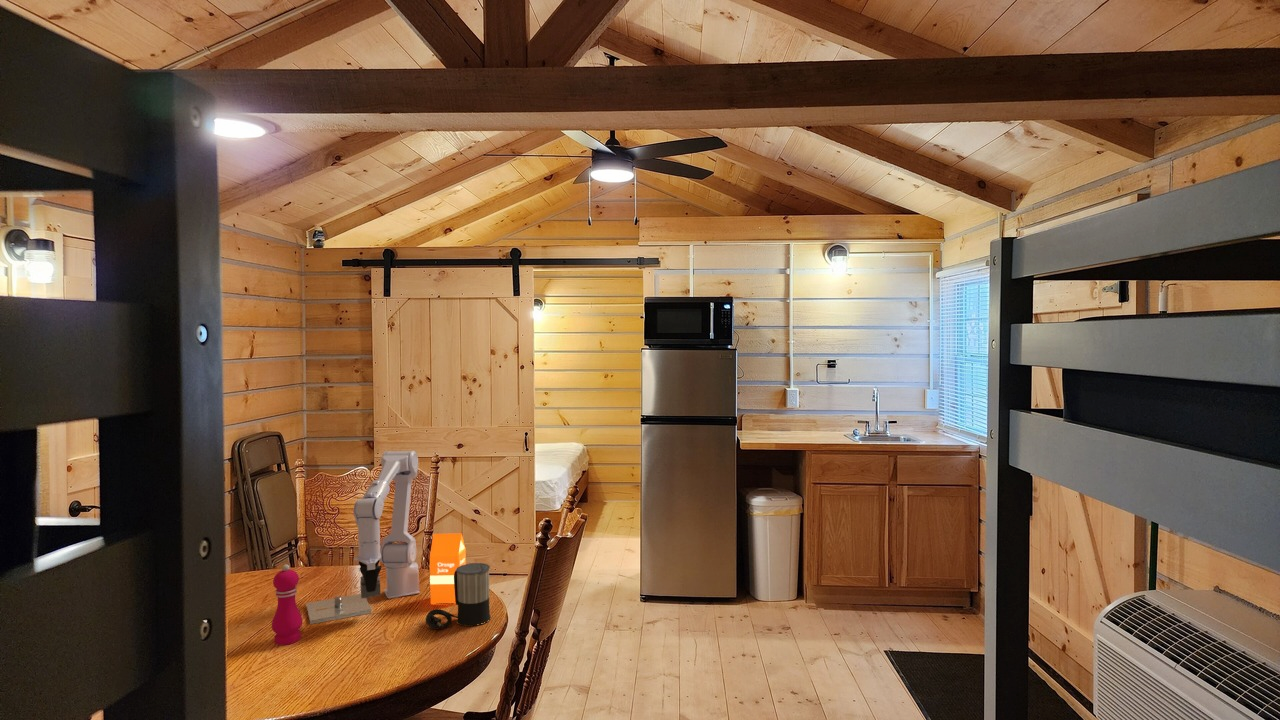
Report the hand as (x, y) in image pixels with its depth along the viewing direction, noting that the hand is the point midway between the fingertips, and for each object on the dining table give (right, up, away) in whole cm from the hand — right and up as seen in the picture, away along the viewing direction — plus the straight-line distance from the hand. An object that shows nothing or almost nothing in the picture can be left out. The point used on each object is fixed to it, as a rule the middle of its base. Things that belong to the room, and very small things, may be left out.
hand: (370, 588), depth 200 cm
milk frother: (+26, -8, -5) cm, 28 cm away
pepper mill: (-16, -9, -15) cm, 24 cm away
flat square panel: (-12, -9, +7) cm, 16 cm away
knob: (0, -2, 0) cm, 2 cm away
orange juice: (+18, -8, +14) cm, 24 cm away
